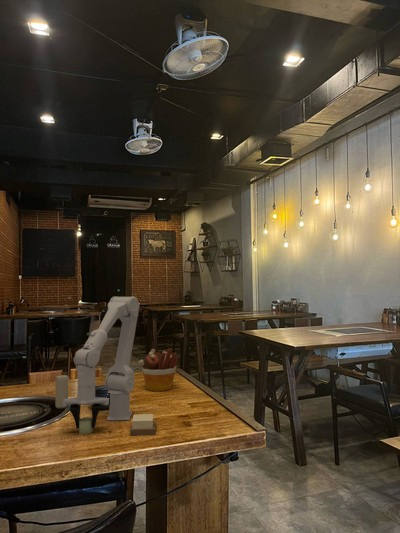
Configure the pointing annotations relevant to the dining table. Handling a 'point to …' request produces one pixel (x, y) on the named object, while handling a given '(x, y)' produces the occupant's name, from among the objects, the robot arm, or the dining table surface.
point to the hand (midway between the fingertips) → (85, 427)
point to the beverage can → (61, 390)
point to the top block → (142, 421)
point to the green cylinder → (85, 425)
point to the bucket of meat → (159, 370)
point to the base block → (144, 431)
